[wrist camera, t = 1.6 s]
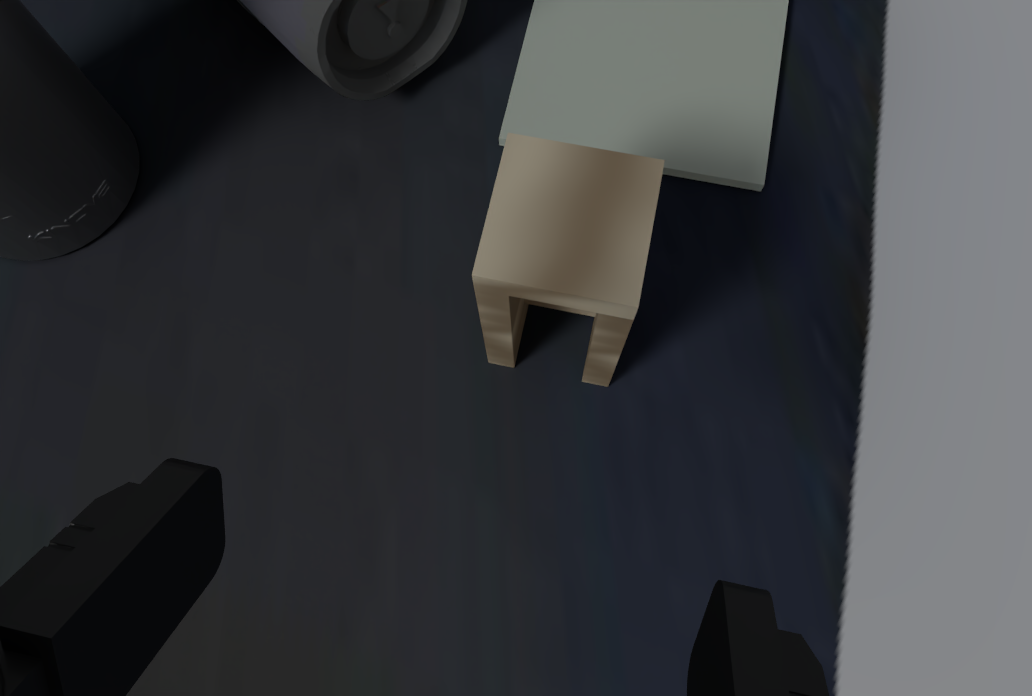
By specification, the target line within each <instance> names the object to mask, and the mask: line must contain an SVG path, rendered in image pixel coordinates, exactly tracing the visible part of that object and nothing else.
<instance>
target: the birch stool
mask: <svg viewBox="0 0 1032 696" xmlns="http://www.w3.org/2000/svg"><path fill="white" fill-rule="evenodd" d="M664 162H665V160H661V159H655V158H650V157H644V156H638V155H633V154H627V153H621V152H616V151H610V150H604V149H599V148H593V147H587V146H582V145H576V144H570V143H565V142H559V141H553V140H548V139H542V138H536V137H531V136H525V135H519V134H514V133H508V134H507V138H506V142H505V146H504V150H503V154H502V158H501V162H500V166H499V170H498V174H497V178H496V182H495V186H494V189H493V193H492V197H491V201H490V205H489V209H488V213H487V217H486V221H485V225H484V229H483V233H482V237H481V241H480V245H479V249H478V253H477V256H476V260H475V264H474V268H473V272H472V279H473V284H474V289H475V295H476V300H477V305H478V310H479V316H480V321H481V326H482V331H483V336H484V342H485V347H486V352H487V357H488V362H489V363H493V364H498V365H503V366H508V367H513V368H514V367H515V363H516V358H517V354H518V349H519V345H520V341H521V336H522V332H523V327H524V323H525V318H526V314H527V310H528V305H529V304H531V305H536V306H541V307H546V308H552V309H557V310H562V311H567V312H572V313H577V314H582V315H587V316H592V317H594V322H593V327H592V332H591V337H590V342H589V347H588V352H587V357H586V362H585V367H584V372H583V378H582V382H587V383H592V384H597V385H602V386H607V387H608V386H609V383H610V380H611V378H612V375H613V373H614V370H615V367H616V365H617V362H618V360H619V357H620V354H621V352H622V349H623V346H624V344H625V341H626V339H627V336H628V333H629V331H630V328H631V326H632V323H633V320H634V318H635V315H636V312H637V310H638V307H639V301H640V296H641V290H642V285H643V279H644V274H645V268H646V262H647V257H648V251H649V246H650V240H651V234H652V229H653V223H654V218H655V212H656V207H657V201H658V195H659V190H660V184H661V179H662V173H663V167H664Z"/></svg>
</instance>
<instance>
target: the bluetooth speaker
mask: <svg viewBox="0 0 1032 696" xmlns="http://www.w3.org/2000/svg"><path fill="white" fill-rule="evenodd" d="M237 1H238V2H239V3H240V4H241V5H242V6H243V7H244V8H245V9H246V10H247V11H248V12H249V13H250V14H251V15H252V16H253V17H255V18H256V19H257V20H258V21H259V22H260V23H262V24H263V25H264V26H265V27H266V28H267V29H268V30H269V31H270V32H271V33H272V34H273V35H274V36H275V37H276V38H277V39H278V40H279V41H280V42H281V43H282V44H283V45H284V46H285V47H286V48H287V49H288V50H289V51H290V52H291V53H292V54H293V55H294V56H295V57H296V58H297V59H298V60H299V61H300V62H301V63H302V64H304V65H305V66H306V67H307V68H308V69H309V70H310V71H311V72H312V73H314V74H315V75H316V76H317V77H319V78H320V79H321V80H322V81H323V82H325V83H326V84H327V85H328V86H330V87H331V88H332V89H333V90H335V91H336V92H337V93H339V94H340V95H342V96H344V97H347V98H350V99H353V100H364V101H366V100H375V99H378V98H381V97H385V96H387V95H388V94H390V93H392V92H393V91H395V90H396V89H398V88H399V87H401V86H402V85H404V84H405V83H407V82H408V81H410V80H411V79H413V78H414V77H416V76H417V75H418V74H420V73H421V72H422V71H424V70H425V69H427V68H428V67H429V66H431V65H432V64H433V63H434V62H435V61H436V60H437V59H438V58H439V57H440V56H441V54H442V53H443V52H444V51H445V50H446V48H447V47H448V45H449V44H450V42H451V40H452V39H453V37H454V35H455V33H456V31H457V29H458V27H459V25H460V23H461V20H462V18H463V15H464V12H465V9H466V4H467V0H237Z"/></svg>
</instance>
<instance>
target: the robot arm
mask: <svg viewBox="0 0 1032 696" xmlns="http://www.w3.org/2000/svg"><path fill="white" fill-rule="evenodd" d="M139 160H140V155H139V151H138V147H137V142H136V139H135V137H134V135H133V133H132V132H131V130H130V128H129V126H128V125H127V124H126V122H125V121H124V120H123V119H122V118H121V117H120V116H119V114H118V113H117V112H116V111H115V110H114V109H113V108H112V106H111V105H110V104H109V103H108V102H107V101H106V100H105V98H104V97H103V96H102V95H101V94H100V93H99V91H98V90H97V89H96V88H95V87H94V86H93V85H92V83H91V82H90V81H89V80H88V79H87V78H86V76H85V75H84V74H83V73H82V71H81V70H80V69H79V68H78V67H77V66H76V64H75V63H74V62H73V61H72V60H71V59H70V58H69V56H68V55H67V54H66V53H65V52H64V51H63V50H62V48H61V47H60V46H59V45H58V44H57V43H56V42H55V40H54V39H53V38H52V37H51V36H50V35H49V34H48V32H47V31H46V30H45V29H44V28H43V27H42V26H41V24H40V23H39V22H38V21H37V20H36V19H35V17H34V16H33V15H32V14H31V13H30V12H29V11H28V9H27V8H26V7H25V6H24V5H23V4H22V3H21V1H20V0H0V257H3V258H8V259H14V260H20V261H28V260H44V259H48V258H53V257H57V256H62V255H64V254H67V253H69V252H71V251H74V250H76V249H79V248H81V247H83V246H84V245H86V244H87V243H89V242H91V241H92V240H94V239H95V238H97V237H99V236H100V235H101V234H102V233H103V232H104V231H105V230H106V229H108V228H109V227H110V226H111V225H112V224H113V223H114V222H115V221H116V220H117V218H118V217H119V216H120V214H121V213H122V212H123V210H124V209H125V208H126V206H127V204H128V202H129V200H130V198H131V196H132V194H133V192H134V190H135V187H136V183H137V179H138V175H139ZM224 548H225V525H224V509H223V493H222V479H221V474H220V471H219V470H218V469H217V468H215V467H211V466H207V465H202V464H197V463H193V462H188V461H184V460H179V459H175V458H170V459H167V460H165V461H164V462H163V463H161V464H160V465H159V466H158V467H157V468H156V469H155V470H154V471H153V472H152V473H151V474H150V475H149V476H148V477H147V478H146V479H145V480H144V481H143V482H142V483H141V484H136V483H131V482H128V483H126V484H124V485H122V486H120V487H118V488H116V489H114V490H112V491H111V492H109V493H107V494H105V495H103V496H101V497H99V498H97V499H95V500H94V501H93V502H92V503H91V504H90V505H89V506H88V507H86V508H85V509H84V510H83V511H82V512H81V513H80V514H79V515H78V516H77V517H76V518H75V519H73V520H72V521H71V522H70V526H69V527H65V528H64V529H63V530H62V531H61V532H59V533H58V534H57V535H56V536H55V537H54V538H53V539H52V540H51V541H50V544H49V546H48V547H45V546H44V547H43V548H42V549H41V550H40V551H39V552H38V553H37V554H36V555H35V556H34V557H32V558H31V559H30V560H29V561H28V562H27V563H26V564H25V565H24V566H23V567H22V568H21V569H19V570H18V571H17V572H16V573H15V574H14V575H13V576H12V577H11V578H10V579H9V580H8V581H7V582H5V583H4V584H3V585H2V586H1V587H0V696H126V695H127V693H128V692H129V691H130V689H131V688H132V686H133V685H134V684H135V682H136V681H137V680H138V678H139V677H140V676H141V674H142V673H143V672H144V670H145V669H146V668H147V666H148V665H149V664H150V662H151V661H152V660H153V658H154V657H155V655H156V654H157V653H158V651H159V650H160V649H161V647H162V646H163V645H164V643H165V642H166V641H167V639H168V638H169V637H170V635H171V634H172V633H173V631H174V630H175V629H176V627H177V626H178V625H179V623H180V622H181V620H182V619H183V618H184V616H185V615H186V614H187V612H188V611H189V610H190V608H191V607H192V606H193V604H194V603H195V602H196V600H197V599H198V598H199V596H200V595H201V594H202V592H203V591H204V589H205V588H206V587H207V585H208V584H209V583H210V581H211V580H212V579H213V577H214V575H215V574H216V572H217V570H218V568H219V565H220V563H221V560H222V557H223V553H224ZM687 696H829V693H828V689H827V685H826V681H825V676H824V672H823V668H822V666H821V664H820V663H819V661H818V660H817V658H816V657H815V655H814V654H813V652H812V651H811V649H810V648H809V646H808V644H807V643H806V641H805V640H804V638H803V637H802V635H801V634H796V633H792V632H787V631H783V630H778V629H777V623H776V618H775V612H774V607H773V602H772V597H771V595H770V593H769V591H767V590H763V589H758V588H754V587H749V586H745V585H740V584H736V583H731V582H726V581H722V580H718V581H717V582H716V584H715V586H714V588H713V591H712V594H711V597H710V600H709V602H708V605H707V608H706V611H705V614H704V617H703V620H702V623H701V626H700V629H699V632H698V634H697V637H696V640H695V643H694V646H693V649H692V653H691V658H690V663H689V669H688V679H687Z"/></svg>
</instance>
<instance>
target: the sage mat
mask: <svg viewBox="0 0 1032 696" xmlns="http://www.w3.org/2000/svg"><path fill="white" fill-rule="evenodd" d="M788 2H789V0H534V4H533V7H532V11H531V15H530V19H529V23H528V27H527V31H526V35H525V39H524V42H523V46H522V50H521V54H520V58H519V62H518V66H517V70H516V74H515V77H514V81H513V85H512V89H511V93H510V97H509V101H508V105H507V109H506V112H505V116H504V120H503V124H502V128H501V132H500V136H499V145H502V146H505V142H506V138H507V134H508V133H514V134H519V135H525V136H531V137H536V138H542V139H548V140H553V141H559V142H565V143H570V144H576V145H582V146H587V147H593V148H599V149H604V150H610V151H616V152H621V153H627V154H633V155H638V156H644V157H650V158H655V159H661V160H665V162H664V167H663V173H662V174H665V175H671V176H676V177H682V178H687V179H693V180H699V181H704V182H710V183H715V184H721V185H727V186H732V187H738V188H744V189H749V190H755V191H760V192H761V190H762V188H763V187H764V183H765V176H766V168H767V161H768V153H769V146H770V138H771V131H772V123H773V115H774V108H775V100H776V93H777V85H778V78H779V70H780V62H781V55H782V47H783V40H784V32H785V25H786V17H787V10H788Z"/></svg>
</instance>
